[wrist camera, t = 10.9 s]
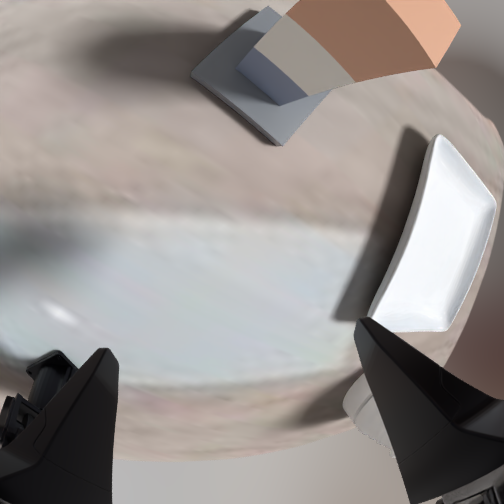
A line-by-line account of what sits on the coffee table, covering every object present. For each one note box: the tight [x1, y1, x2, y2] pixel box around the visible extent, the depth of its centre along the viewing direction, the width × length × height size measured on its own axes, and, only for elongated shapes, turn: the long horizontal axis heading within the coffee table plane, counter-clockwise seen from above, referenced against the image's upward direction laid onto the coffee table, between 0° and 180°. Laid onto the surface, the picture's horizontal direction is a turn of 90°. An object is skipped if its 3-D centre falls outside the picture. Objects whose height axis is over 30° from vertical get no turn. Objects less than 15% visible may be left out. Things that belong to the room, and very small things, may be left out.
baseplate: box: [190, 6, 332, 146], centre depth 16 cm, size 8×8×1 cm
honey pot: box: [343, 373, 395, 458], centre depth 27 cm, size 13×13×18 cm
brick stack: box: [235, 0, 461, 106], centre depth 10 cm, size 4×4×13 cm
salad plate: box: [367, 134, 497, 332], centre depth 27 cm, size 21×21×3 cm
